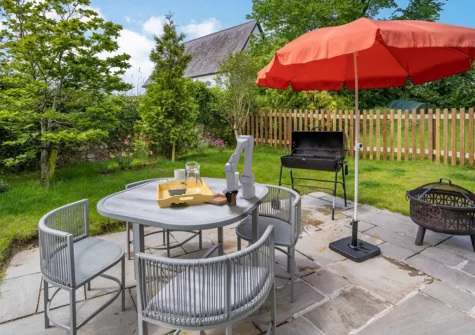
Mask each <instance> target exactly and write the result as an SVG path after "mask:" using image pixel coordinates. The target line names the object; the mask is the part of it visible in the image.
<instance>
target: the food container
mask: <svg viewBox="0 0 475 335" xmlns="http://www.w3.org/2000/svg"><path fill="white" fill-rule="evenodd" d="M167 192H168V193H169V197H170V196H174V195H182V194H186V192H187V187H185V188H175V189H170V188H169V189H168V191H167ZM186 195H187V194H186Z"/></svg>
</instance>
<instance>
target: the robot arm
mask: <svg viewBox="0 0 475 335" xmlns="http://www.w3.org/2000/svg"><path fill="white" fill-rule="evenodd" d="M236 141H237V144H236V147H235V150H234V153H232V154H231V156H230V157H229V160H228V162H227V163H226V164H224V168H223V170H224V172H225V173H224V174H225V178H226V179H225V180H226V188H224V189H222V194H223V195H225V196H226V198H227V201H228V203H231V196H232V193H234V194H236V197H237V196H238V194H239V190H240V186H239V185H236V172H237V170H238V162H239V161H240V158H241V157H240V154H241V153H242V151H243V149H244V161H243V162H244V163H243V172H241V173H240V176H239V183H240V185H241V190H242V192H241V193H242V195H241V196H239V198H240V199H246V200H251V199H253V198H256V197H257V195H256V187H255V181H256V179H255V178H256V177H255V174H254V173H253V172H252V160H253V148H254V143H255V137H254V136H253V135H252V134H251V135H246V134H245V135H241V134H239V135H238V137H237V139H236Z"/></svg>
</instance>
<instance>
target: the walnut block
mask: <svg viewBox="0 0 475 335" xmlns="http://www.w3.org/2000/svg"><path fill="white" fill-rule="evenodd" d="M226 205H228V206H232V207H233V206H236V205H237V196H236V194H234V193H232V196H231V203H228V201H227V203H226Z"/></svg>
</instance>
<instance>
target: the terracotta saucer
mask: <svg viewBox="0 0 475 335" xmlns="http://www.w3.org/2000/svg"><path fill="white" fill-rule="evenodd" d="M213 195H214V198H213V200H212V199H211V200H210V202H209V203H208V204H211V205H216V206H222V205H225V204H227V198H226V196H225V194H224V193H216V194H213Z"/></svg>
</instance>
